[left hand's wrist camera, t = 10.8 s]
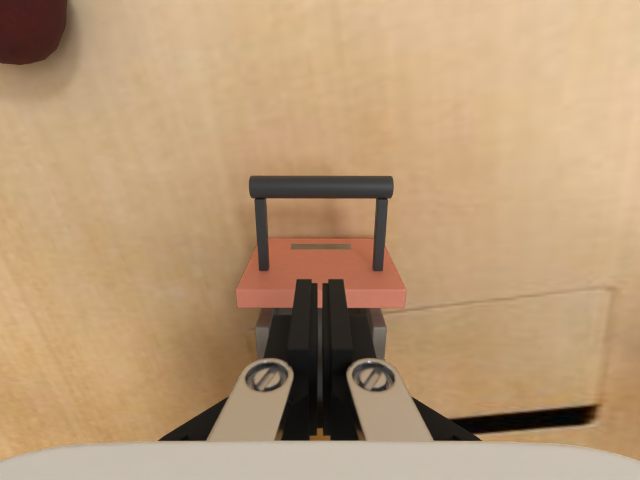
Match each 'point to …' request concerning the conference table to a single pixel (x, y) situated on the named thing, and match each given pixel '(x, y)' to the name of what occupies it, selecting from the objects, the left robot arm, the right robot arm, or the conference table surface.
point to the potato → (30, 29)
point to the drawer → (321, 261)
